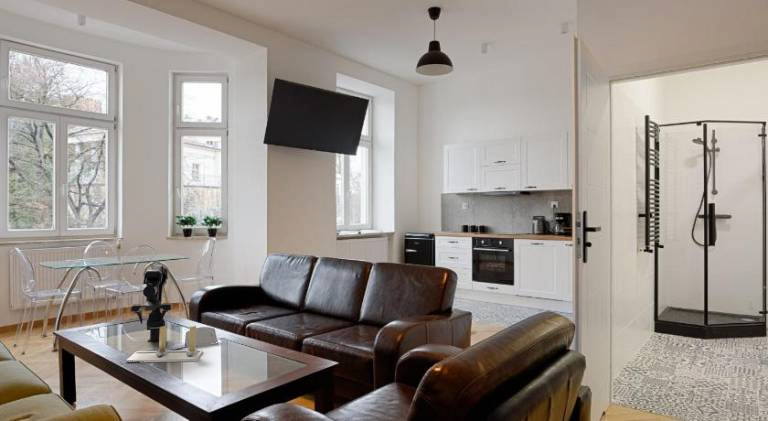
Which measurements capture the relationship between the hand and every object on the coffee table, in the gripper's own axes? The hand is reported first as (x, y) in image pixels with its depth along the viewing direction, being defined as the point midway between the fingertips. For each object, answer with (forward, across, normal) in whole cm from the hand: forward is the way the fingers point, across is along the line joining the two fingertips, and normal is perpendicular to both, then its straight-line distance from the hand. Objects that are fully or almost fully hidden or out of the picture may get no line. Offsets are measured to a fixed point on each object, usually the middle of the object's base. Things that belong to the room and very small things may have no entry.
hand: (151, 323), depth 243 cm
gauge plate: (+13, +9, -17) cm, 23 cm away
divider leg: (+12, +7, -17) cm, 22 cm away
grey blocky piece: (+13, +25, +3) cm, 28 cm away
